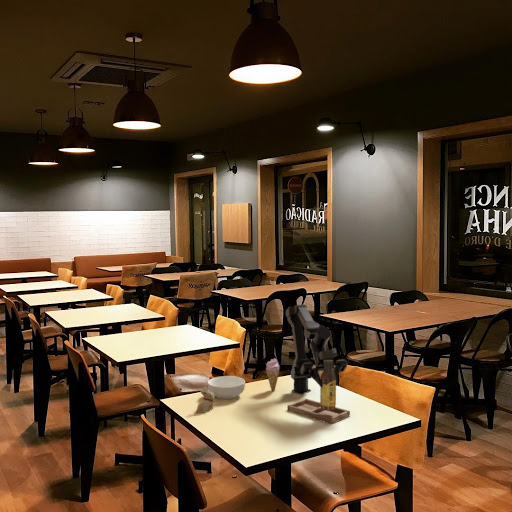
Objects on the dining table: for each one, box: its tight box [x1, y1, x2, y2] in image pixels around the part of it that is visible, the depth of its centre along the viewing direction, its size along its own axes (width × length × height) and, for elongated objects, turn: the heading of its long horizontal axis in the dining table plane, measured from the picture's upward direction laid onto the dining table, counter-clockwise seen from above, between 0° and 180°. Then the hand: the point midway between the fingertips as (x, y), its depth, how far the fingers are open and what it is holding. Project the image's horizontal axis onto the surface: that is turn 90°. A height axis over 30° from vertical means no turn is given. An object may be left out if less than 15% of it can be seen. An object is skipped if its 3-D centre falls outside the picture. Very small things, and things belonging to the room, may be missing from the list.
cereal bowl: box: [207, 375, 246, 400], centre depth 255 cm, size 17×17×7 cm
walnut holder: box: [286, 398, 351, 425], centre depth 231 cm, size 12×23×2 cm, turn 44°
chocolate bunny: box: [196, 386, 215, 413], centre depth 237 cm, size 6×8×10 cm
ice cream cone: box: [265, 357, 281, 392], centre depth 261 cm, size 7×6×15 cm
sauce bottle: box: [319, 358, 337, 411], centre depth 226 cm, size 6×6×20 cm
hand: (329, 386), depth 225 cm, fingers closed on sauce bottle, 6 cm apart
